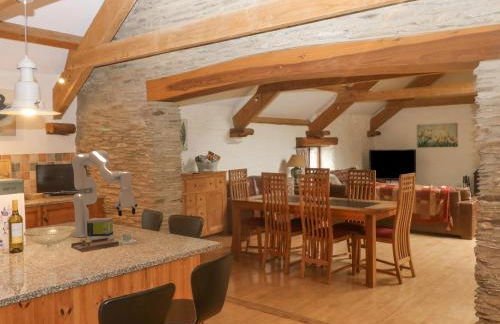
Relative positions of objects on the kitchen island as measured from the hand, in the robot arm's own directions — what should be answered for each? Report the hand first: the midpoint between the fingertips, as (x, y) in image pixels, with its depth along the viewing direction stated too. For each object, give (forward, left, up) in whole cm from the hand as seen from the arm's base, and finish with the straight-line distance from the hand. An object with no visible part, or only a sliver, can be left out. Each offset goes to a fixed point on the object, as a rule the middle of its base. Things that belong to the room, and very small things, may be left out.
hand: (127, 215), depth 309 cm
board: (-2, -22, -18) cm, 28 cm away
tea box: (-20, -10, -19) cm, 29 cm away
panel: (0, -2, -18) cm, 18 cm away
